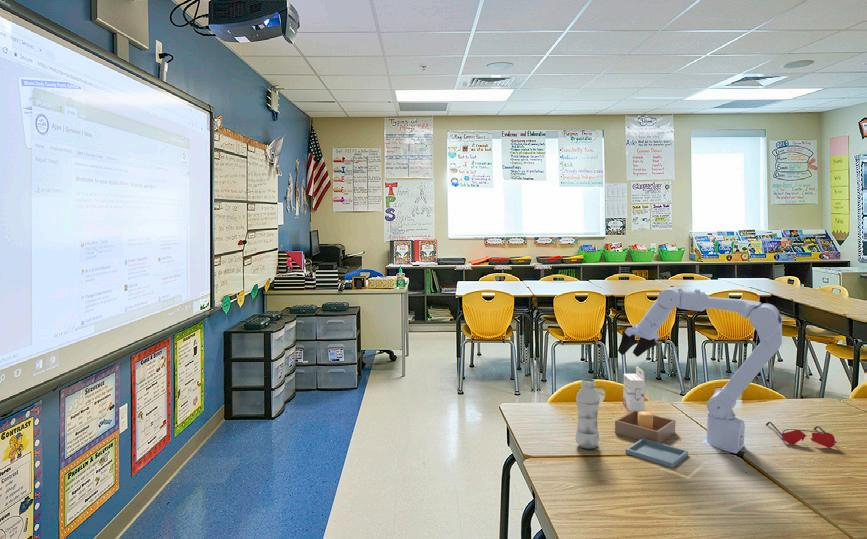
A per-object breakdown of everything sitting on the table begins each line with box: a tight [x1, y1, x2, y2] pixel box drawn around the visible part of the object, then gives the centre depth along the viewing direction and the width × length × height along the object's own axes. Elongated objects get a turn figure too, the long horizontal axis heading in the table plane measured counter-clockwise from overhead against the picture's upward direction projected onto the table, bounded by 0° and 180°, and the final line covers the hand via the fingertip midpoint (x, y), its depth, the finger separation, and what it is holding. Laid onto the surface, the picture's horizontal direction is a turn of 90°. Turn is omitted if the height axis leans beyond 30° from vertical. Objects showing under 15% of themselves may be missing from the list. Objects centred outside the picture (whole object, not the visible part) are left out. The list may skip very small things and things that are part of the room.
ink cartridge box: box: [622, 365, 646, 412], centre depth 187 cm, size 9×5×15 cm, turn 179°
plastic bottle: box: [575, 377, 600, 450], centre depth 155 cm, size 6×7×20 cm
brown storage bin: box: [614, 410, 677, 443], centre depth 164 cm, size 13×13×4 cm
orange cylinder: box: [638, 410, 654, 430], centre depth 164 cm, size 4×4×6 cm
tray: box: [625, 438, 689, 469], centre depth 149 cm, size 13×11×2 cm
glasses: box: [765, 421, 838, 448], centre depth 163 cm, size 14×16×5 cm
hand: (627, 353), depth 171 cm, fingers open, 7 cm apart
